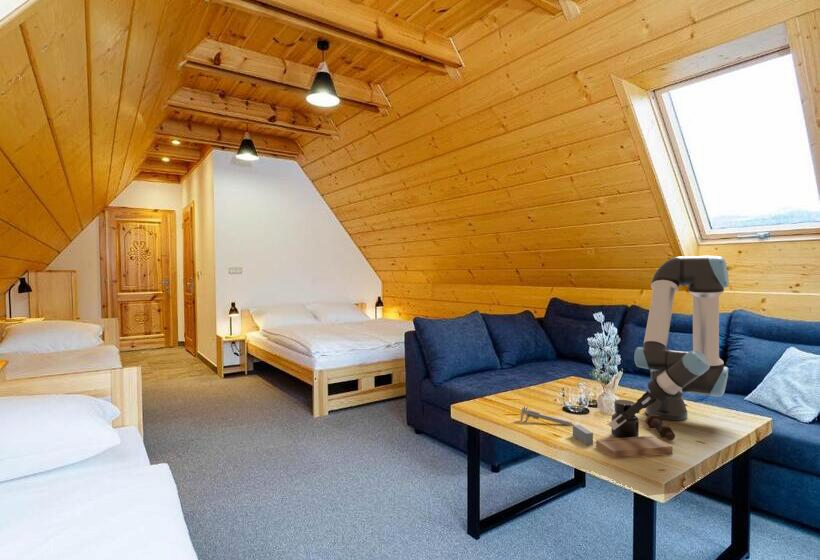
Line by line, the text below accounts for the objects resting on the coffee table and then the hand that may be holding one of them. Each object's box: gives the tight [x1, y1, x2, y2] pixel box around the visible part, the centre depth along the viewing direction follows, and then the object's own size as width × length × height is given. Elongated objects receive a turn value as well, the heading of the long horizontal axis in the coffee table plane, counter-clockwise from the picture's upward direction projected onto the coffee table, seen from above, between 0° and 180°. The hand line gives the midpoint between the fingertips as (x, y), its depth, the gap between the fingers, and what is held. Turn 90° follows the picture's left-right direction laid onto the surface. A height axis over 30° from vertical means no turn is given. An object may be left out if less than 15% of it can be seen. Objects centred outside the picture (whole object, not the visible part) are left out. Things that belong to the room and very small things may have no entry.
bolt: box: [645, 415, 676, 441], centre depth 173 cm, size 6×5×15 cm
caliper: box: [520, 405, 576, 426], centre depth 186 cm, size 20×1×6 cm, turn 73°
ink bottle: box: [610, 399, 640, 438], centre depth 170 cm, size 10×9×12 cm
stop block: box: [572, 424, 594, 446], centre depth 167 cm, size 2×9×4 cm, turn 10°
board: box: [595, 435, 674, 460], centre depth 158 cm, size 21×10×2 cm, turn 100°
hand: (615, 423), depth 172 cm, fingers closed on ink bottle, 9 cm apart
